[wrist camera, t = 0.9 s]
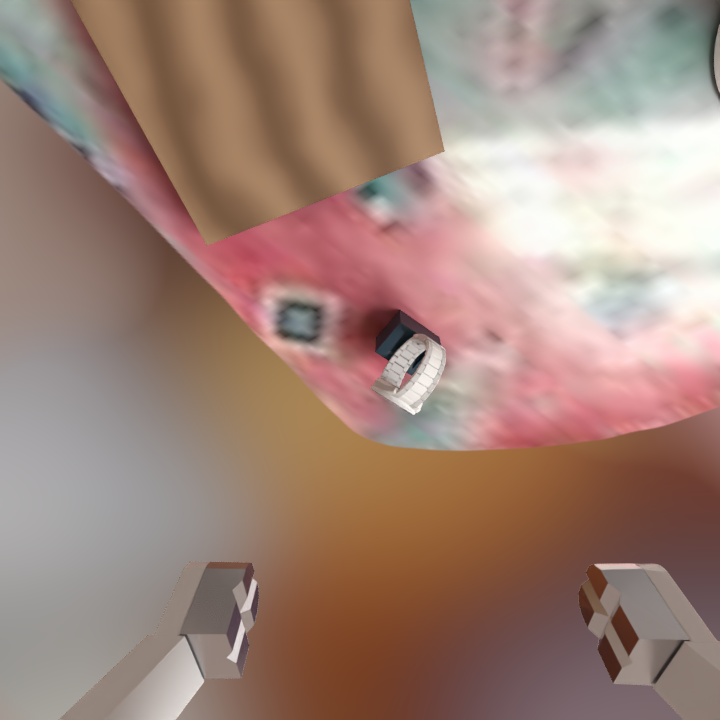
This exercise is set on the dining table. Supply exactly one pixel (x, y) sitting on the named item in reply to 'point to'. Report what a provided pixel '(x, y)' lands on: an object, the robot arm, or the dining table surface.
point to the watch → (408, 362)
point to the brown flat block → (268, 98)
